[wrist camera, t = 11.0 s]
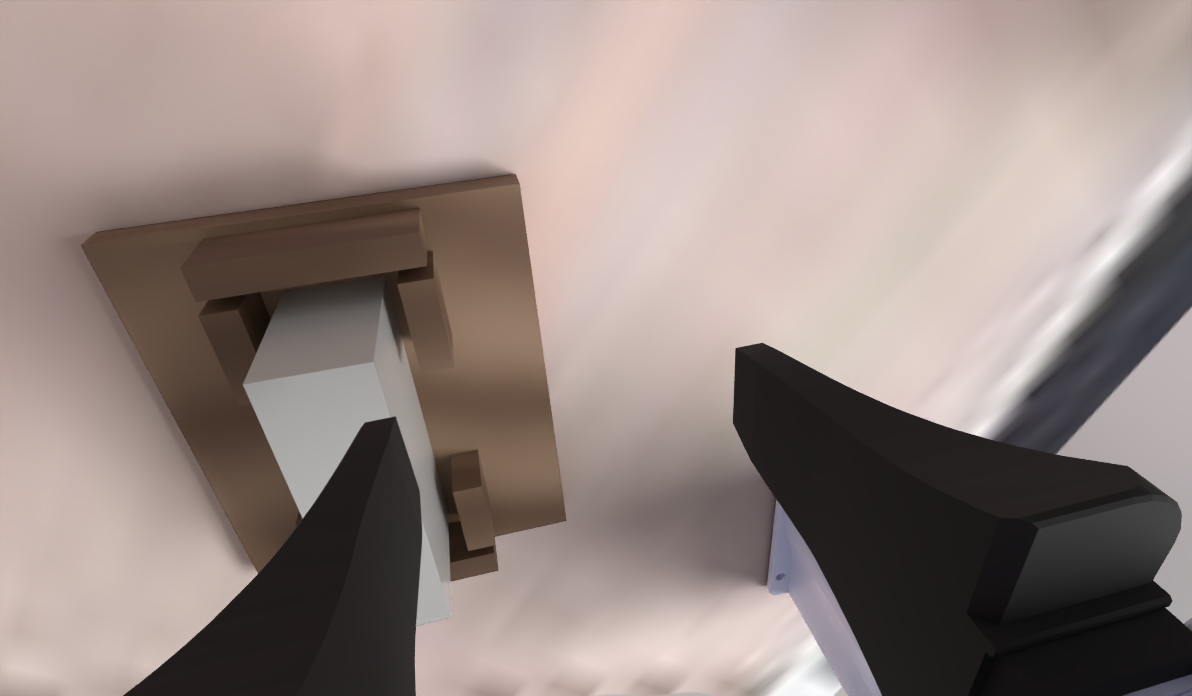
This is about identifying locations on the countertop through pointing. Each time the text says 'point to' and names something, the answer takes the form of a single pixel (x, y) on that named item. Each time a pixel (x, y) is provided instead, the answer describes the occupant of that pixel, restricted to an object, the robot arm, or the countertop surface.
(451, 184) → the rack
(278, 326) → the light gray block
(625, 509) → the countertop surface
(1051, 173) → the countertop surface
